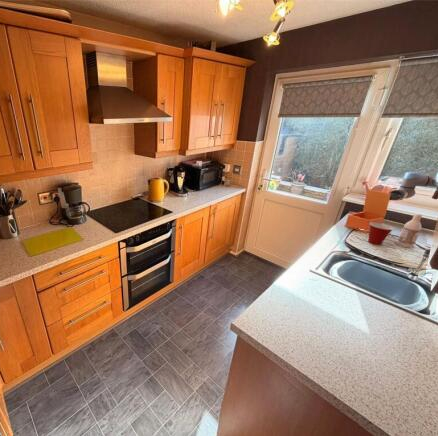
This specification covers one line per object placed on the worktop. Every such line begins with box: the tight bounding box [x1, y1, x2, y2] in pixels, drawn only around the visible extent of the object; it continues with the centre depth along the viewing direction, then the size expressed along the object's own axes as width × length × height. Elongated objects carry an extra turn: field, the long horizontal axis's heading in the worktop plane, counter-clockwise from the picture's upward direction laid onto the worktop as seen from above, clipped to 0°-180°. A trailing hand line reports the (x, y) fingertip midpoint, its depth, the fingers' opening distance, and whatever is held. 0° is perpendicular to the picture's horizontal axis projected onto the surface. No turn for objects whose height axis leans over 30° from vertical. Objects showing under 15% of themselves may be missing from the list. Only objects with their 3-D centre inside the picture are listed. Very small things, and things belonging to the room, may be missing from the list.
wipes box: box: [344, 211, 385, 233], centre depth 163 cm, size 17×13×9 cm
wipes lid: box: [362, 188, 391, 218], centre depth 161 cm, size 17×13×1 cm
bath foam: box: [396, 213, 423, 249], centre depth 136 cm, size 7×7×20 cm
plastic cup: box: [368, 223, 394, 246], centre depth 140 cm, size 11×11×12 cm
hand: (377, 198), depth 160 cm, fingers closed
